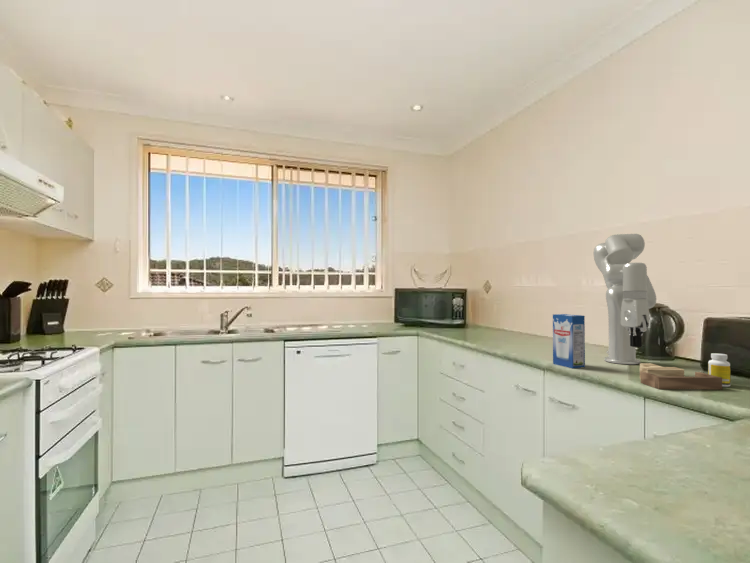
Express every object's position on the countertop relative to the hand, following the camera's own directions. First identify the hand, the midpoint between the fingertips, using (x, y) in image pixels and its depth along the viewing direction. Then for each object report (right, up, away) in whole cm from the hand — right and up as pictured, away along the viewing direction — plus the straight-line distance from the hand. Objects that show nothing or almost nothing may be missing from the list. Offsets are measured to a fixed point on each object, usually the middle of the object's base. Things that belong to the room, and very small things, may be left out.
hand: (635, 346), depth 147 cm
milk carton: (-19, -10, +12) cm, 24 cm away
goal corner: (0, -9, -21) cm, 23 cm away
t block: (0, -9, -10) cm, 13 cm away
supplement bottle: (+14, -9, -20) cm, 26 cm away
